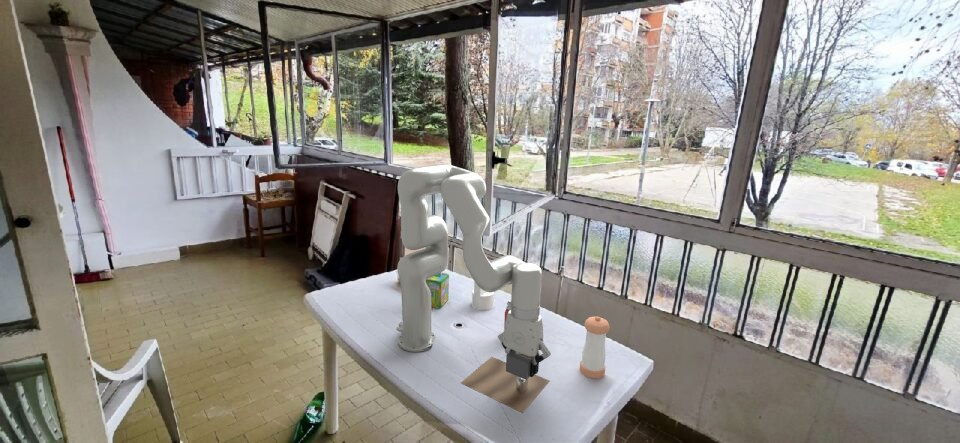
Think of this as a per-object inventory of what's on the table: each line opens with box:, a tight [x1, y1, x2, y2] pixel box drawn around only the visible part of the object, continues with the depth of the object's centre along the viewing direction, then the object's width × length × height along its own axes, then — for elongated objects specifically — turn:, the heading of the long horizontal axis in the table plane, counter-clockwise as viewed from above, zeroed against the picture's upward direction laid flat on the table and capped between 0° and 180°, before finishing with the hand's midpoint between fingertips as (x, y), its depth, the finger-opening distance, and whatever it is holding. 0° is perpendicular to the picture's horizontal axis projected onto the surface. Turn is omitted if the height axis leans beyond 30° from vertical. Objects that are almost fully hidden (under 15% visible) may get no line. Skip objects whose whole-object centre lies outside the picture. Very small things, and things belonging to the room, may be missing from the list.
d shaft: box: [516, 377, 528, 393], centre depth 113 cm, size 3×3×3 cm
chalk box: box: [426, 272, 450, 309], centre depth 165 cm, size 9×9×15 cm
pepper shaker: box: [579, 316, 611, 379], centre depth 120 cm, size 7×7×19 cm
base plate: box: [460, 356, 551, 414], centre depth 116 cm, size 20×16×2 cm
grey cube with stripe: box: [505, 350, 532, 380], centre depth 111 cm, size 6×6×5 cm
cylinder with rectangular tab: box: [471, 280, 496, 311], centre depth 164 cm, size 9×9×12 cm
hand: (521, 369), depth 112 cm, fingers closed on grey cube with stripe, 6 cm apart
